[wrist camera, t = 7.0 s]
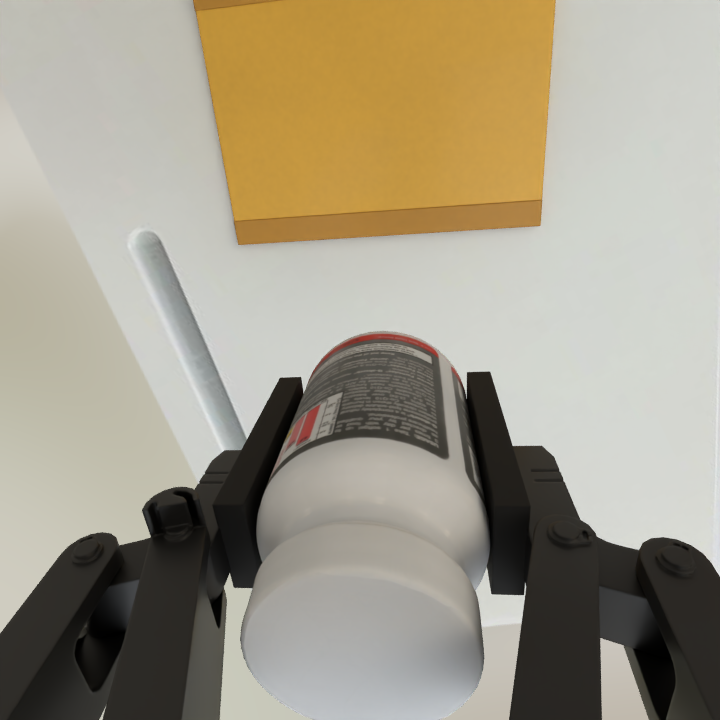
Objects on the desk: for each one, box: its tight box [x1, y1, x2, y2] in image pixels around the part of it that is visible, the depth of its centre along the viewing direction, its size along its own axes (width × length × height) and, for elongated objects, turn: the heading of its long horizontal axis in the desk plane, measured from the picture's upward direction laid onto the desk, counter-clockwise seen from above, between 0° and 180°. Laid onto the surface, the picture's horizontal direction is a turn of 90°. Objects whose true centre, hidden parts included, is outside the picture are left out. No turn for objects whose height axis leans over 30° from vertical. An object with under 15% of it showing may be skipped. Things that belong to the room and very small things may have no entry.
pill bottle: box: [240, 331, 490, 720], centre depth 14 cm, size 6×6×10 cm
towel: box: [193, 0, 556, 245], centre depth 30 cm, size 15×20×1 cm
